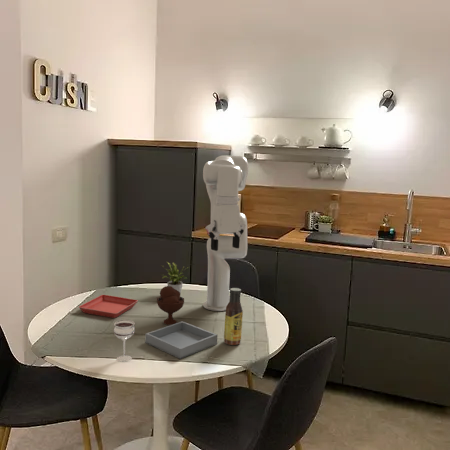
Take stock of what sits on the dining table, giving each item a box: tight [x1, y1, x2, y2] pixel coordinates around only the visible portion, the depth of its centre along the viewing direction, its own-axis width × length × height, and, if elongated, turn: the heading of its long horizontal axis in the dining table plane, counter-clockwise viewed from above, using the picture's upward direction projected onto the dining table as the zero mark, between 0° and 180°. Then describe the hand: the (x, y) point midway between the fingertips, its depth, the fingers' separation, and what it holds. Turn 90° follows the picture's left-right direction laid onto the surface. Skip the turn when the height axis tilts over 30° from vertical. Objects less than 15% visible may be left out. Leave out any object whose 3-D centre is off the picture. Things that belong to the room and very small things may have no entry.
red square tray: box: [78, 294, 139, 319], centre depth 204 cm, size 18×18×3 cm
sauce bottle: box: [223, 287, 244, 346], centre depth 174 cm, size 6×6×20 cm
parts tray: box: [144, 321, 218, 360], centre depth 173 cm, size 18×18×4 cm
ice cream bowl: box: [156, 285, 185, 326], centre depth 191 cm, size 11×11×15 cm
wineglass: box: [113, 319, 136, 363], centre depth 158 cm, size 7×7×12 cm
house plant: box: [159, 262, 189, 295], centre depth 225 cm, size 14×14×16 cm
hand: (225, 248), depth 173 cm, fingers open, 9 cm apart
